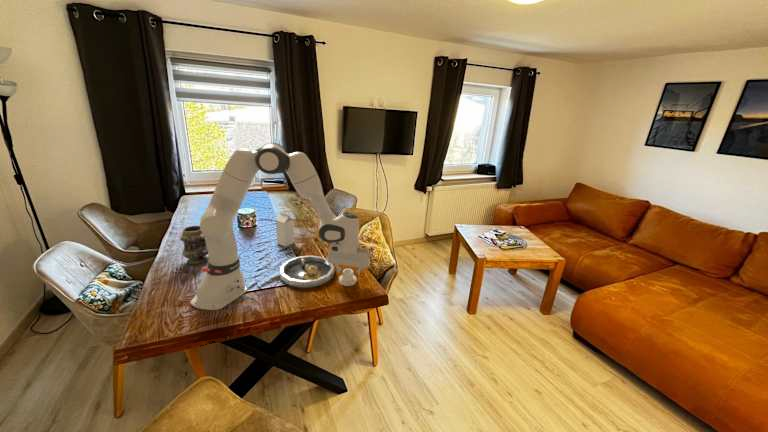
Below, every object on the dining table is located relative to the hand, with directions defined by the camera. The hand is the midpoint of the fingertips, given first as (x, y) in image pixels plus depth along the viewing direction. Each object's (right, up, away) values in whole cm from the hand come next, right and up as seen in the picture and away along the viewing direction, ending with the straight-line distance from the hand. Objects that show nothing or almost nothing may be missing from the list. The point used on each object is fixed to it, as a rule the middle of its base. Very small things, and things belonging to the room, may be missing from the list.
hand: (348, 272), depth 146 cm
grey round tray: (-21, -1, +5) cm, 22 cm away
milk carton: (-41, +11, +35) cm, 56 cm away
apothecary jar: (-78, +4, +9) cm, 79 cm away
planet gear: (-1, -4, +1) cm, 5 cm away
